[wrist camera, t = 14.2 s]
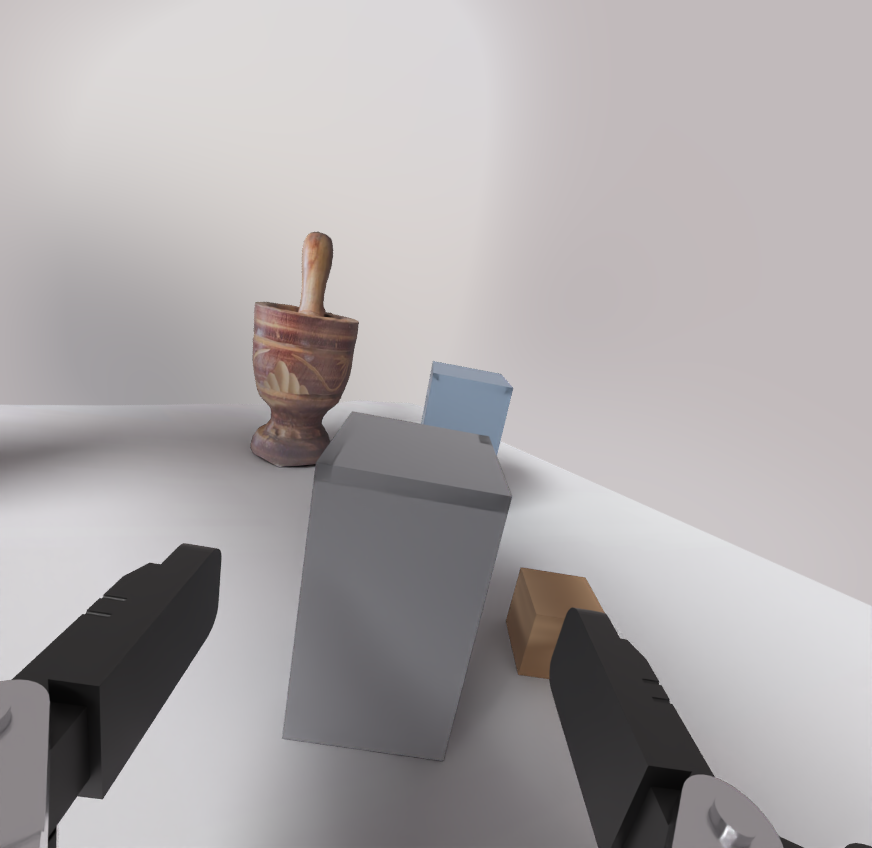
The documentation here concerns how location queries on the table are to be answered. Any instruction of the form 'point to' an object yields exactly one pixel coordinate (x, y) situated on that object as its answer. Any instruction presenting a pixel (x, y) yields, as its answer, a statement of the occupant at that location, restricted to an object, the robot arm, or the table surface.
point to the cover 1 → (393, 584)
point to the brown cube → (543, 616)
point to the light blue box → (467, 401)
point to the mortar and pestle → (301, 363)
